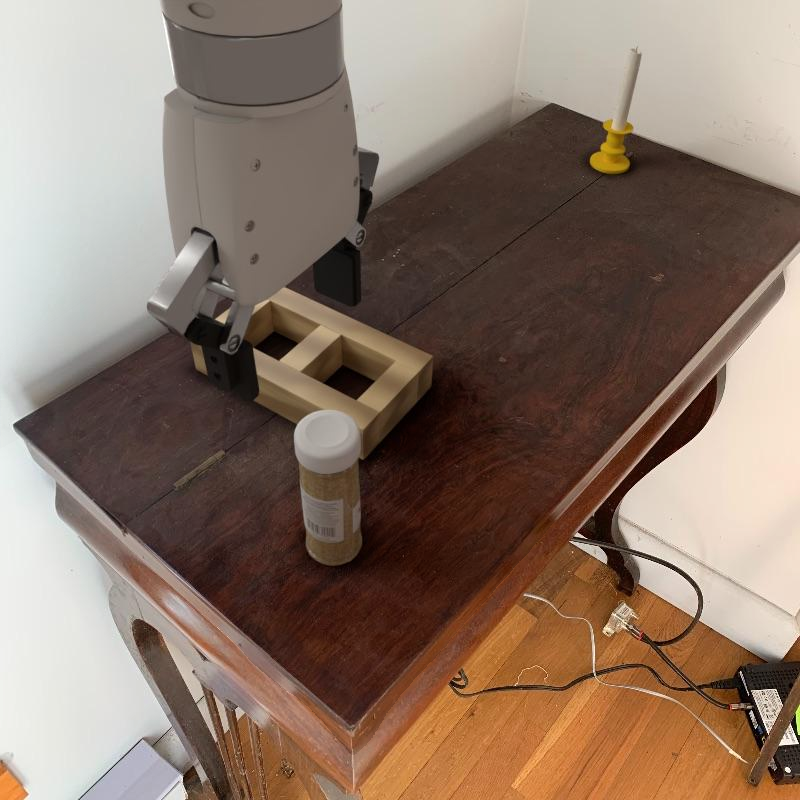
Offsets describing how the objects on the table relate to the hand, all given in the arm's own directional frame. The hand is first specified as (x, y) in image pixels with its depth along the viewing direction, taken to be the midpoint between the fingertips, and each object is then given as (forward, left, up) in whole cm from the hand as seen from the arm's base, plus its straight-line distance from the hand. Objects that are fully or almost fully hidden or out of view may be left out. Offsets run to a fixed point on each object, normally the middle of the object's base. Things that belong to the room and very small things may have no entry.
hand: (289, 340), depth 47 cm
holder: (+16, +12, -23) cm, 30 cm away
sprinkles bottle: (+2, -1, -23) cm, 23 cm away
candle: (+71, +5, -23) cm, 75 cm away
